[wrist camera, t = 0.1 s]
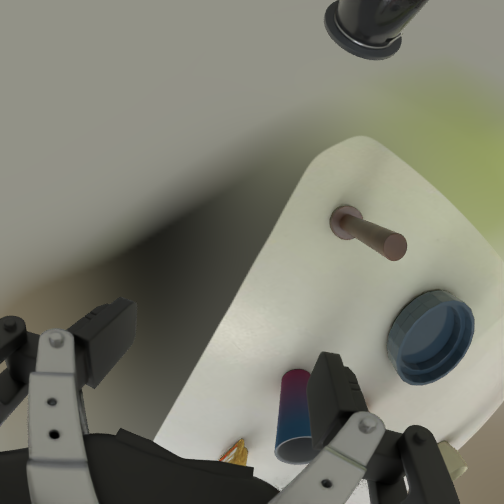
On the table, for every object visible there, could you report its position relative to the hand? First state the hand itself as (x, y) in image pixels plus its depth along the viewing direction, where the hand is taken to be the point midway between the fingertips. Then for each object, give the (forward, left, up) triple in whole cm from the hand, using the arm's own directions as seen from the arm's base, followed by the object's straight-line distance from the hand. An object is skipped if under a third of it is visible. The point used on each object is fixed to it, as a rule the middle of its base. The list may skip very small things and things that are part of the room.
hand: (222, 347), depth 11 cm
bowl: (+8, +31, -26) cm, 41 cm away
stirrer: (-5, +11, -26) cm, 29 cm away
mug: (+42, +61, -26) cm, 78 cm away
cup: (+21, +12, -26) cm, 36 cm away
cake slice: (+45, +7, -26) cm, 53 cm away
